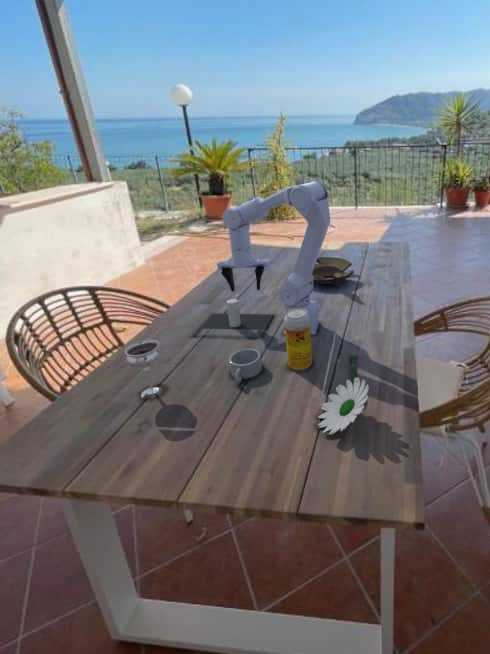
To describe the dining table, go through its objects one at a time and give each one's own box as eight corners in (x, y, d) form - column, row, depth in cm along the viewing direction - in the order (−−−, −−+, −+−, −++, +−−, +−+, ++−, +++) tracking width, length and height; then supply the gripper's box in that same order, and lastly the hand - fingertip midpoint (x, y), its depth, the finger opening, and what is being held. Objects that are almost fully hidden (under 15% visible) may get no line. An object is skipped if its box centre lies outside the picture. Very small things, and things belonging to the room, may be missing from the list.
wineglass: (147, 406, 85) (135, 359, 81) (130, 395, 89) (118, 350, 84) (175, 389, 91) (165, 344, 86) (158, 379, 94) (148, 336, 90)
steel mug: (237, 362, 101) (235, 348, 99) (265, 362, 100) (263, 348, 99) (222, 387, 91) (219, 372, 89) (253, 388, 91) (251, 373, 89)
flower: (367, 336, 101) (366, 402, 72) (378, 352, 102) (381, 424, 73) (325, 361, 103) (307, 435, 74) (337, 376, 104) (324, 456, 75)
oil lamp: (352, 267, 167) (352, 250, 164) (356, 295, 139) (356, 275, 136) (300, 268, 166) (298, 251, 163) (293, 297, 138) (292, 277, 135)
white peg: (242, 322, 120) (239, 298, 117) (238, 327, 117) (235, 303, 114) (232, 322, 120) (228, 298, 118) (228, 327, 117) (224, 303, 115)
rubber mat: (273, 315, 125) (273, 314, 125) (261, 338, 112) (260, 336, 112) (212, 314, 126) (212, 313, 126) (193, 336, 113) (193, 335, 113)
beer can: (292, 375, 95) (288, 320, 90) (285, 362, 100) (280, 310, 95) (315, 368, 98) (312, 315, 93) (307, 356, 103) (304, 305, 98)
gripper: (212, 252, 111) (219, 296, 115) (264, 250, 112) (268, 293, 117) (217, 245, 117) (223, 287, 122) (266, 243, 119) (270, 284, 124)
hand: (246, 289), depth 120 cm, fingers open, 7 cm apart
